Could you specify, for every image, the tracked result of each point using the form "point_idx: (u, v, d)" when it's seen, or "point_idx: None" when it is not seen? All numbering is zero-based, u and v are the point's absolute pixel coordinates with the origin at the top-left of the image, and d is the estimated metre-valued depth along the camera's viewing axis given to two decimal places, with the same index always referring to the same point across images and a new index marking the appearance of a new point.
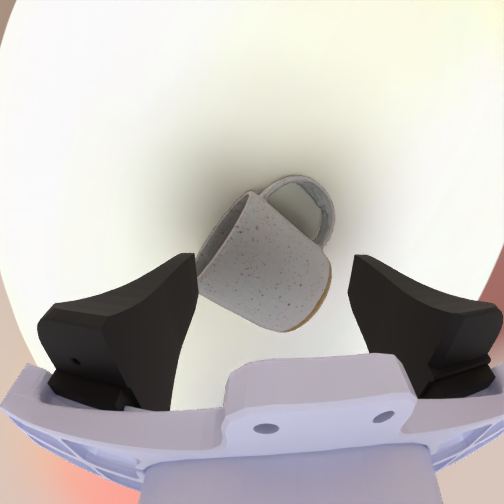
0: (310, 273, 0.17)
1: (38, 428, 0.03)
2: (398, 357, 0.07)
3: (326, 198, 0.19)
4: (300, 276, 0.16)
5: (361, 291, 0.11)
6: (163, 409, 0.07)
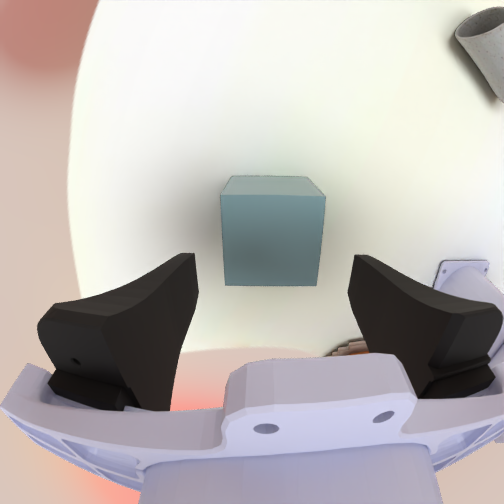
0: None
1: (38, 428, 0.03)
2: (398, 357, 0.07)
3: None
4: None
5: (361, 291, 0.11)
6: (163, 409, 0.07)
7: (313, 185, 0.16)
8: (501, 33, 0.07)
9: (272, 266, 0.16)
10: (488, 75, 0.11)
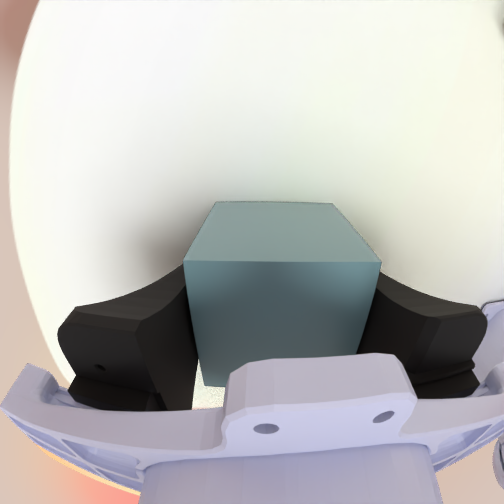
0: None
1: (38, 428, 0.03)
2: None
3: None
4: None
5: None
6: None
7: (349, 226, 0.10)
8: None
9: None
10: None
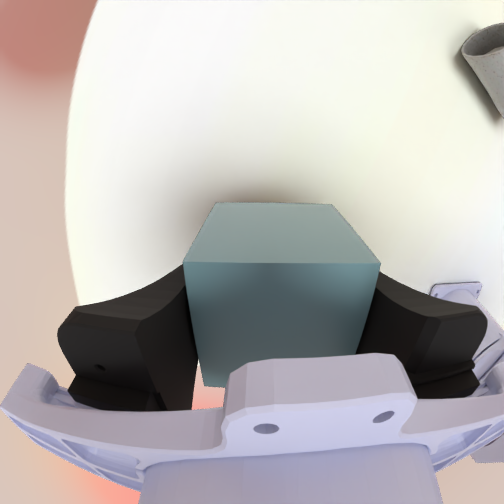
0: None
1: (38, 428, 0.03)
2: None
3: None
4: None
5: None
6: None
7: (348, 227, 0.10)
8: None
9: None
10: (493, 95, 0.12)
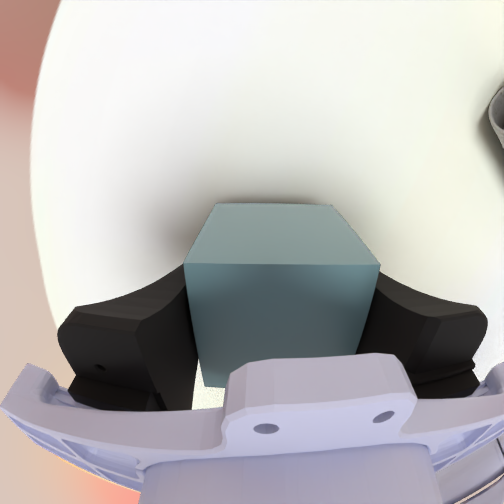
0: None
1: (38, 428, 0.03)
2: None
3: None
4: None
5: None
6: None
7: (348, 228, 0.10)
8: None
9: None
10: None
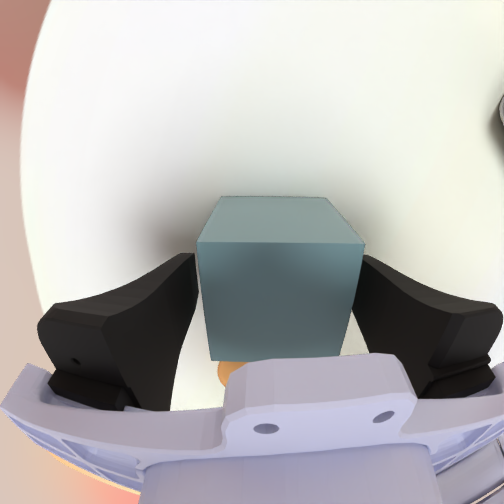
0: None
1: (38, 428, 0.03)
2: (398, 357, 0.07)
3: None
4: None
5: (361, 291, 0.11)
6: (163, 408, 0.07)
7: (339, 216, 0.11)
8: None
9: (278, 340, 0.10)
10: None
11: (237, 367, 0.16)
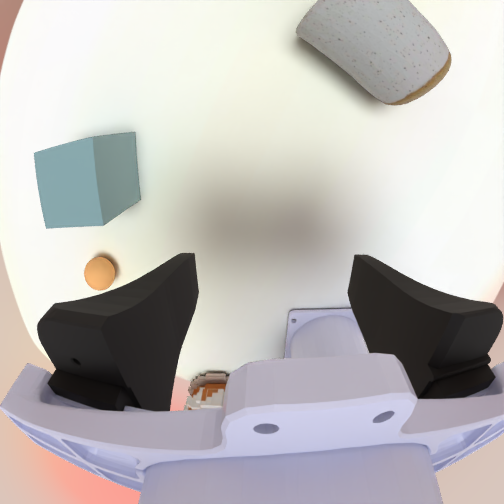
0: (433, 27, 0.09)
1: (38, 428, 0.03)
2: (398, 357, 0.07)
3: None
4: (428, 22, 0.08)
5: (361, 291, 0.11)
6: (163, 408, 0.07)
7: (114, 134, 0.15)
8: (326, 4, 0.09)
9: (68, 207, 0.14)
10: (343, 69, 0.14)
11: (91, 264, 0.20)
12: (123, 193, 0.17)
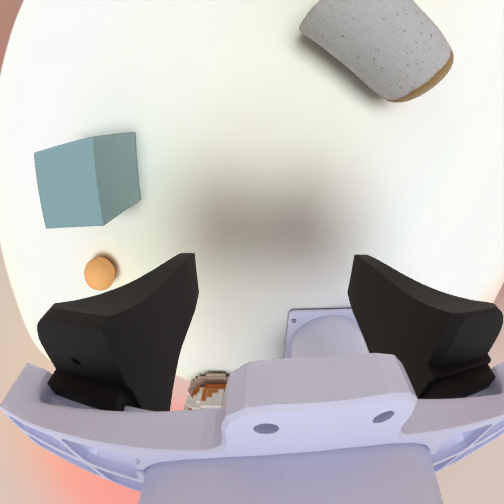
0: None
1: (38, 428, 0.03)
2: (398, 357, 0.07)
3: None
4: (430, 19, 0.08)
5: (361, 291, 0.11)
6: (163, 408, 0.07)
7: (114, 134, 0.15)
8: (330, 1, 0.09)
9: (68, 207, 0.14)
10: (346, 66, 0.13)
11: (91, 264, 0.20)
12: (123, 193, 0.17)
